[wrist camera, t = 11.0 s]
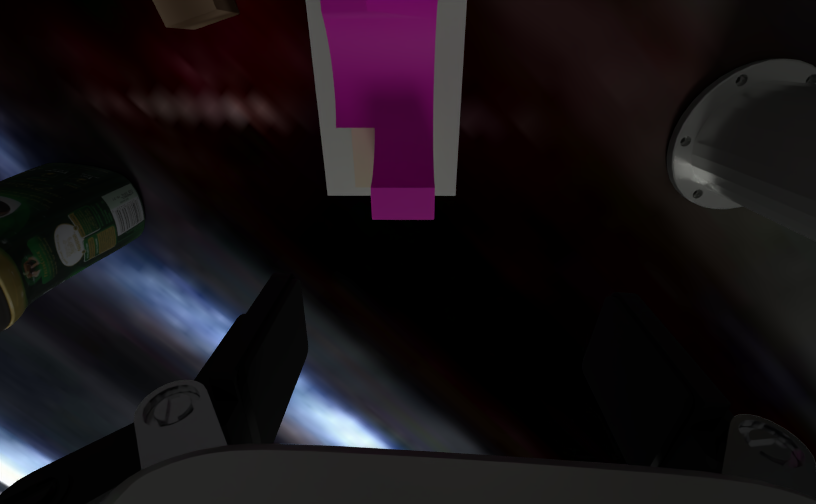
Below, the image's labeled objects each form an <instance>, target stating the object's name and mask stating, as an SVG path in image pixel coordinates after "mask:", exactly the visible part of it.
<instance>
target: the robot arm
mask: <svg viewBox="0 0 816 504" xmlns="http://www.w3.org/2000/svg"><path fill="white" fill-rule="evenodd" d="M667 171H668V174H669V178H670V181H671V182H672V184H673V186H674V188H675V189H676V190H677V191H678V192H679V193H680V194H681V195H682V196H683V197H685V198H686V199H688V200H690V201H691V202H693V203H695V204H698V205H700V206H702V207H707V208H712V209H730V208H736V207H742V206H743V207H746V208H748V209H750V210H752V211H754V212H756V213H758V214H760V215H762V216H764V217H766V218H768V219H770V220H772V221H774V222H777V223H779V224H781V225H783V226H785V227H787V228H789V229H791V230H793V231H795V232H797V233H799V234H801V235H803V236H805V237H808V238H810V239H812V240H814V241H816V67H815V66H813V65H812V64H809V63H806V62H803V61H801V60H794V59H765V60H760V61H755V62H751V63H748V64H746V65H743V66H740V67H738V68H735V69H734V70H732V71H730V72H728V73H726V74H725V75H723V76H721V77H720V78H718V79H717V80H716V81H714V82H713V83H712V84H710V85H709V86H708V87H706V88H705V89H704V90H703V91H702V92H701V93H700V94H699V95H698V96H697V97H696V98H695V99H694V100H693V101H692V102H691V104H690V105H689V106H688V108H687V109H686V110H685V112H684V113H683V114H682V116H681V118H680V119H679V121H678V123H677V125H676V126H675V128H674V131H673V133H672V136H671V139H670V141H669V146H668V151H667ZM307 353H308V340H307V331H306V323H305V315H304V306H303V298H302V289H301V282H300V280H299V279H295V277H294V275H293V274H281V273H274V274H273V275H272V276H271V277H270V279H269V280H268V282H267V283H266V285H265V286H264V288H263V289H262V291H261V292H260V294H259V295H258V297H257V298H256V300H255V301H254V303H253V304H252V306H251V307H250V309H249V310H248V312H247V313H246V314H242V315H240V316H239V317H238V318H237V319H236V321H235V322H234V324H233V325H232V326H231V328H230V329H229V331H228V332H227V334H226V335H225V337H224V338H223V339H222V341H221V342H220V344H219V345H218V347H217V348H216V349H215V351H214V352H213V354H212V355H211V357H210V358H209V359H208V361H207V362H206V364H205V365H204V367H203V368H202V370H201V371H200V372H199V374H198V375H197V377H196V378H195V380H194V381H193V380H181V381H175V382H172V383H169V384H166V385H164V386H162V387H160V388H158V389H156V390H155V391H153V392H152V393H151V394H149V395H148V396H147V397H146V398H145V399H144V400H143V401H142V402H141V403H140V404H139V406H138V408H137V410H136V412H135V415H134V423H132V424H130V425H128V426H126V427H124V428H122V429H120V430H117V431H115V432H113V433H111V434H109V435H107V436H105V437H103V438H101V439H99V440H97V441H95V442H93V443H91V444H89V445H87V446H85V447H83V448H81V449H79V450H77V451H75V452H73V453H70V454H68V455H66V456H64V457H62V458H60V459H58V460H56V461H54V462H52V463H50V464H48V465H46V466H44V467H42V468H40V469H38V470H36V471H34V472H32V473H30V474H28V475H27V476H25V477H23V478H21V479H20V480H18V481H16V482H15V483H14V484H13V485H11V486H10V487H9V488H7V489H6V490H5V491H4V492H2V493H1V495H0V504H816V464H815V461H814V458H813V455H812V454H811V453H810V451H809V450H808V448H807V447H806V446H805V445H804V444H803V443H802V442H801V441H800V440H799V439H798V438H797V437H796V436H794V435H793V434H791V433H790V432H789V431H787V430H786V429H784V428H783V427H781V426H779V425H777V424H775V423H774V422H772V421H769V420H767V419H764V418H762V417H758V416H754V415H749V414H739V415H737V416H735V417H734V415H733V414H732V413H731V412H730V411H729V407H730V406H731V403H730V402H729V401H728V400H727V398H726V397H725V396H724V395H723V394H722V393H721V391H720V390H719V389H718V388H717V387H716V386H715V384H714V383H713V382H712V381H711V380H710V379H709V377H708V376H707V375H706V374H705V373H704V372H703V370H702V369H701V368H700V367H699V366H698V365H697V363H696V362H695V361H694V360H693V359H692V358H691V356H690V355H689V354H688V353H687V352H686V351H685V349H684V348H683V347H682V346H681V345H680V344H679V342H678V341H677V340H676V339H675V338H674V337H673V335H672V334H671V333H670V332H669V331H668V330H667V328H666V327H665V326H664V325H663V324H662V323H661V321H660V320H659V319H658V318H657V317H656V316H655V314H654V313H653V312H652V311H651V310H650V309H649V307H648V306H647V305H646V304H645V303H644V302H643V300H642V299H641V298H640V297H639V296H638V295H637V294H634V293H619V292H615V293H613V294H612V295H611V297H607V298H606V299H605V301H604V304H603V307H602V310H601V312H600V315H599V318H598V321H597V324H596V326H595V329H594V332H593V335H592V337H591V340H590V343H589V346H588V348H587V351H586V354H585V357H584V360H583V364H582V368H583V373H584V375H585V377H586V379H587V381H588V383H589V385H590V387H591V389H592V392H593V394H594V396H595V398H596V400H597V402H598V404H599V406H600V408H601V410H602V412H603V414H604V416H605V418H606V420H607V422H608V425H609V427H610V429H611V431H612V433H613V435H614V437H615V439H616V441H617V443H618V445H619V447H620V449H621V451H622V453H623V456H624V458H625V460H626V462H627V464H628V465H624V464H610V463H596V462H581V461H567V460H553V459H538V458H523V457H507V456H492V455H476V454H461V453H445V452H429V451H412V450H395V449H378V448H361V447H344V446H323V445H299V444H273V443H274V440H275V437H276V435H277V432H278V430H279V427H280V424H281V422H282V419H283V417H284V414H285V411H286V409H287V406H288V404H289V401H290V398H291V396H292V393H293V391H294V388H295V385H296V383H297V380H298V378H299V375H300V373H301V370H302V367H303V365H304V362H305V360H306V357H307Z"/></svg>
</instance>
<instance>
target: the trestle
mask: <svg viewBox="0 0 816 504" xmlns="http://www.w3.org/2000/svg"><path fill="white" fill-rule="evenodd" d="M466 4H467V0H438V5H437V20H436V39H435V63H434V102H433V158H434V182H435V196H455V192H456V175H457V158H458V141H459V124H460V106H461V89H462V72H463V55H464V38H465V21H466ZM306 8H307V17H308V25H309V34H310V43H311V52H312V61H313V69H314V78H315V87H316V96H317V104H318V113H319V122H320V131H321V140H322V148H323V157H324V166H325V175H326V183H327V192H328V195H371V182H372V175H373V164H374V144H375V128H336V108H335V92H334V81H333V72H332V64H331V57H330V50H329V44H328V39H327V34H326V29H325V25H324V20H323V16H322V12H321V5H320V0H306Z"/></svg>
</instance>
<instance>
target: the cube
mask: <svg viewBox="0 0 816 504" xmlns="http://www.w3.org/2000/svg"><path fill="white" fill-rule="evenodd" d="M153 2H154V4H155V6H156V8H157V10H158V12H159V14H160V16H161V18H162V20H163V22H164V24H165V26H166V27H169V28H181V29H194V30H195V29H198V28H201V27H204V26H206V25H209V24H212V23H215V22H218V21H221V20H224V19H226V18H229V17H232V16H235V15H238V14H240V13H239V10H238V8H237V6H236V3H235V1H234V0H153Z"/></svg>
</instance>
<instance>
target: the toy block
mask: <svg viewBox="0 0 816 504" xmlns="http://www.w3.org/2000/svg"><path fill="white" fill-rule="evenodd" d="M320 5H321V12H322V16H323V20H324V25H325V29H326V34H327V39H328V44H329V50H330V57H331V64H332V72H333V81H334V92H335V108H336V128H375V144H374V164H373V175H372V182H371V206H372V220H434V202H435V182H434V158H433V102H434V63H435V39H436V20H437V5H438V0H320Z"/></svg>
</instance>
